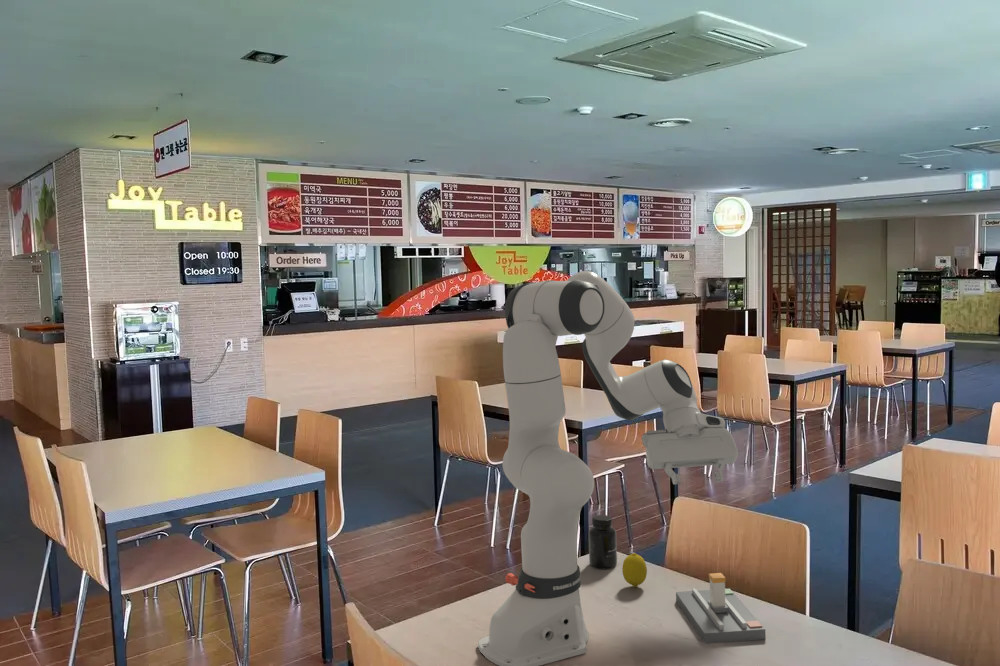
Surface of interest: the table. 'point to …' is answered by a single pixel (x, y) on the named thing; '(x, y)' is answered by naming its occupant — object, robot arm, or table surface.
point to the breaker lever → (717, 593)
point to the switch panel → (719, 618)
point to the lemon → (634, 569)
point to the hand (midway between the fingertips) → (698, 481)
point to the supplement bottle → (602, 543)
